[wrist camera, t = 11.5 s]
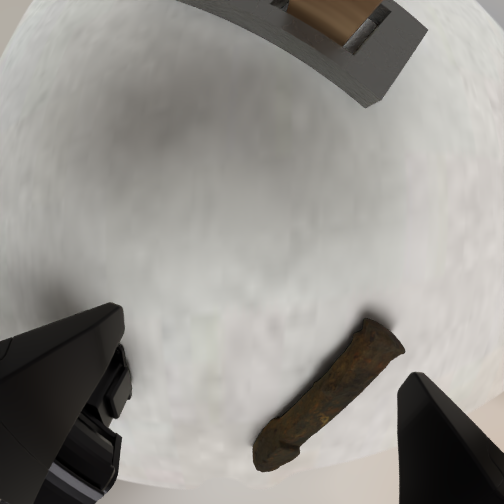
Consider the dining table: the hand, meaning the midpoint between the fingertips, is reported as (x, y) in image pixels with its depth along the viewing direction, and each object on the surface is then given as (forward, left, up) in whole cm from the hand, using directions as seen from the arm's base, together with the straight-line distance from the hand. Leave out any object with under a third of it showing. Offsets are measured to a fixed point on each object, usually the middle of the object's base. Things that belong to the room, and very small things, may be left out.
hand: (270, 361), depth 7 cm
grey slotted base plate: (0, +19, -11) cm, 22 cm away
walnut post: (+3, +18, -11) cm, 21 cm away
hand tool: (+7, -13, -12) cm, 19 cm away
